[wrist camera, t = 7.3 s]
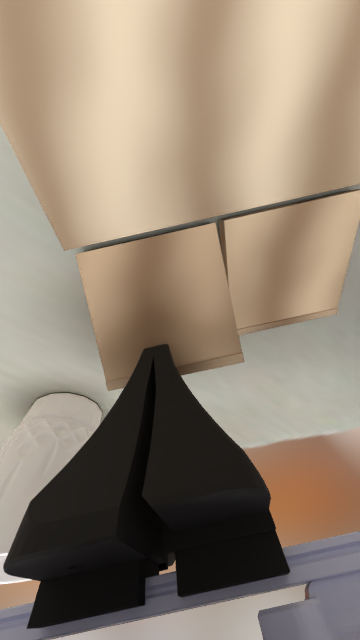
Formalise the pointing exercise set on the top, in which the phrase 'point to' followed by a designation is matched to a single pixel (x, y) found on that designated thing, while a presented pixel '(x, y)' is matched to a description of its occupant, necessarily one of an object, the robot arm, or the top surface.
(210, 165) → the floor board
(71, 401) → the white cup
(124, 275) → the plank
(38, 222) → the top surface
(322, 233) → the plank
